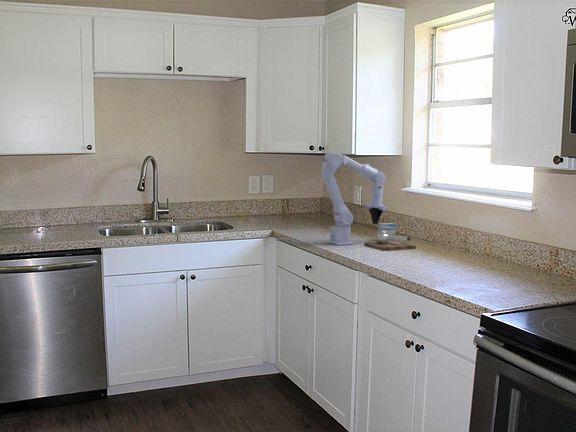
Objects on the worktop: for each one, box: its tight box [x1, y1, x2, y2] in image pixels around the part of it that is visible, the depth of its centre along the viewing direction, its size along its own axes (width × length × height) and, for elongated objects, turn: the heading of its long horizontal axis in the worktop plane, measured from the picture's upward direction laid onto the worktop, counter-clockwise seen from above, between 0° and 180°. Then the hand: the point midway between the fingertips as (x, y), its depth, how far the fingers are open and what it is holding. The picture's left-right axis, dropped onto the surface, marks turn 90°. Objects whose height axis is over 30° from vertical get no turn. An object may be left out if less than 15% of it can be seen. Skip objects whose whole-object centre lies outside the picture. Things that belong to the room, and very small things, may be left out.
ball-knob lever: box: [376, 231, 411, 244], centre depth 310 cm, size 16×5×6 cm, turn 78°
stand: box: [363, 240, 417, 252], centre depth 311 cm, size 18×16×2 cm
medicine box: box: [376, 222, 396, 241], centre depth 330 cm, size 8×4×9 cm, turn 105°
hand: (375, 223), depth 322 cm, fingers closed
